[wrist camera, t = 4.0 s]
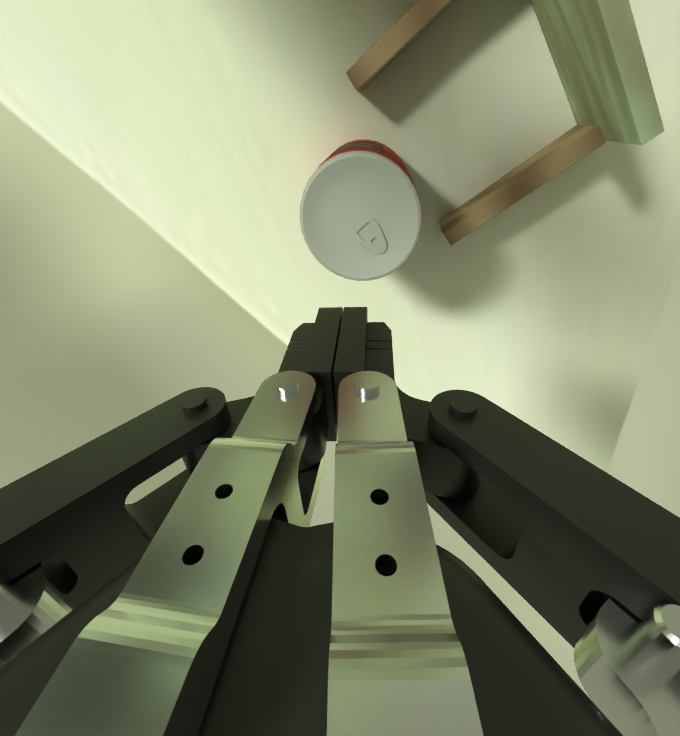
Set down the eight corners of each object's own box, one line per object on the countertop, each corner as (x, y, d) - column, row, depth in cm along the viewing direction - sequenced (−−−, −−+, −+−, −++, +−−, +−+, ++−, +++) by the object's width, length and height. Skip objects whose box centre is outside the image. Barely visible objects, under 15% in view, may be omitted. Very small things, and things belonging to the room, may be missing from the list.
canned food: (377, 252, 35) (377, 301, 26) (304, 204, 34) (277, 240, 25) (429, 176, 31) (450, 204, 22) (349, 117, 30) (337, 121, 21)
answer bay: (444, 233, 34) (460, 263, 27) (349, 76, 28) (340, 67, 22) (599, 127, 29) (665, 133, 22) (521, -95, 23) (580, -176, 16)
